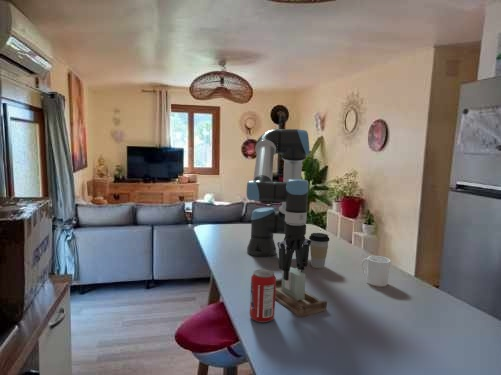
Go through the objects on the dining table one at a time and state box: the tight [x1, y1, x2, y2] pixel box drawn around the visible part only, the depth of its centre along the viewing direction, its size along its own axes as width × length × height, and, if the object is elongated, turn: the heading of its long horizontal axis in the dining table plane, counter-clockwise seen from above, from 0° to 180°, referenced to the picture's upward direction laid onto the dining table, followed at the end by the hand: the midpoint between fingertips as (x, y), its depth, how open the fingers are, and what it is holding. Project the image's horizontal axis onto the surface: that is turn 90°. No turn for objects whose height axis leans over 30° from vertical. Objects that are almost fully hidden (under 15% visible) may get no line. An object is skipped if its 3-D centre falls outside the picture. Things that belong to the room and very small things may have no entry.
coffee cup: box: [308, 232, 330, 269], centre depth 160 cm, size 9×9×15 cm
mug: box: [361, 255, 391, 288], centre depth 142 cm, size 11×9×10 cm
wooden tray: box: [275, 277, 328, 318], centre depth 124 cm, size 24×11×3 cm, turn 30°
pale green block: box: [281, 266, 306, 301], centre depth 123 cm, size 9×4×9 cm, turn 30°
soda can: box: [249, 268, 277, 323], centre depth 108 cm, size 8×8×15 cm
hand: (292, 287), depth 123 cm, fingers closed on pale green block, 3 cm apart
